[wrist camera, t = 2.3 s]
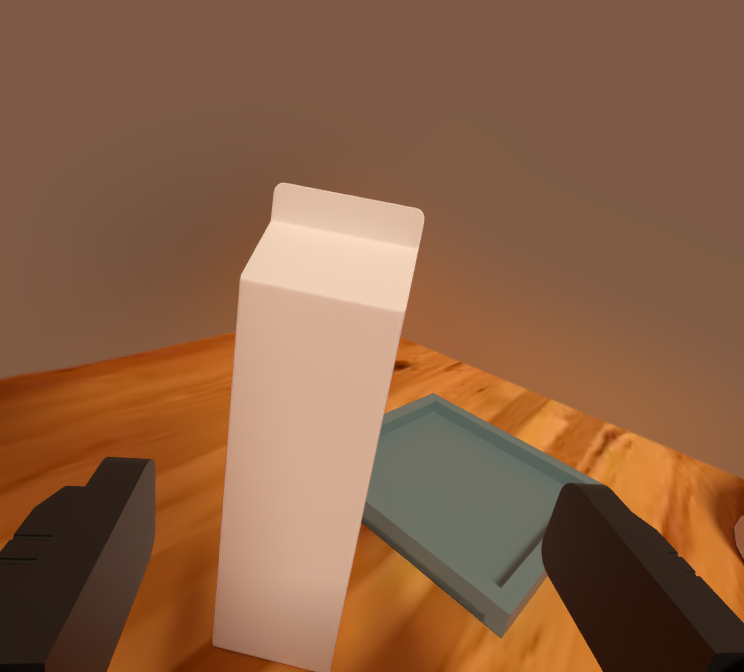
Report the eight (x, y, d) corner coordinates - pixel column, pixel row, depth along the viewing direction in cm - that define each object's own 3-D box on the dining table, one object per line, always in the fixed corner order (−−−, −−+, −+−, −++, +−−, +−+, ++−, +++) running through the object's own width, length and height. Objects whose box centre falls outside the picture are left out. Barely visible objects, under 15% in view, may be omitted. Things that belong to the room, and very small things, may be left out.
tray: (297, 468, 37) (300, 449, 36) (429, 408, 50) (433, 393, 49) (501, 638, 26) (510, 615, 25) (600, 504, 39) (607, 486, 39)
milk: (254, 554, 28) (295, 179, 21) (351, 577, 28) (427, 204, 21) (209, 650, 23) (243, 181, 15) (330, 680, 22) (425, 215, 15)
